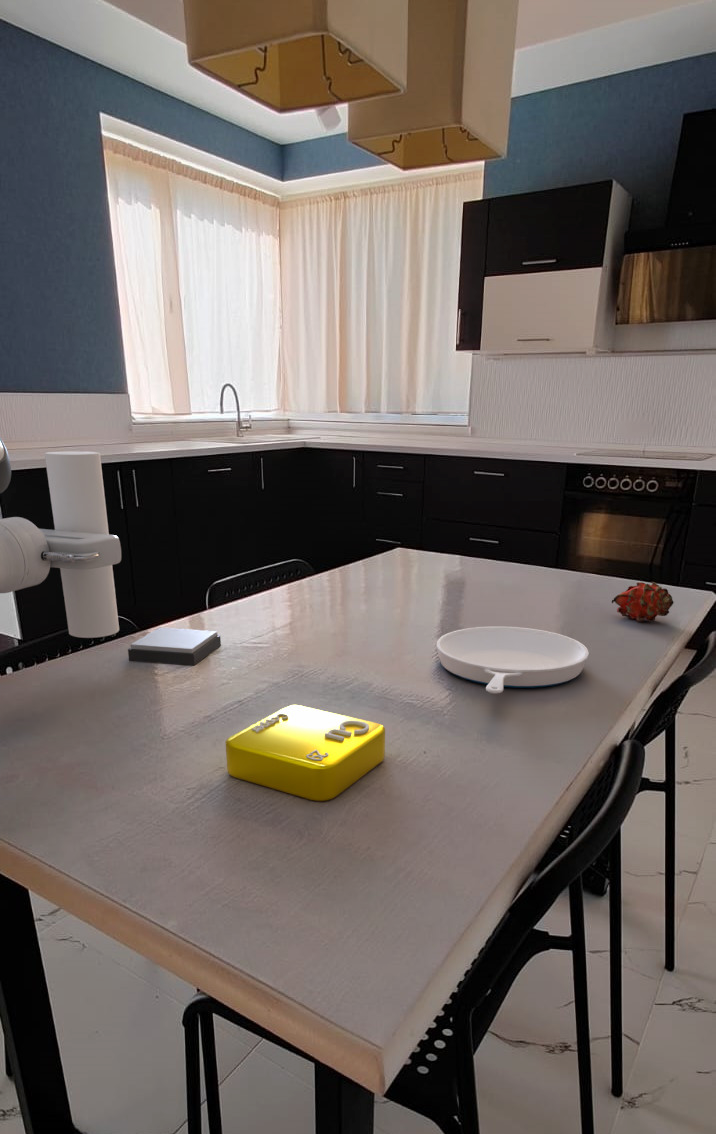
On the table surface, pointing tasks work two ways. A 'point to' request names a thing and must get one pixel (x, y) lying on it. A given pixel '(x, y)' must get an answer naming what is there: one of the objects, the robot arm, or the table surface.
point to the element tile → (306, 752)
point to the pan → (511, 657)
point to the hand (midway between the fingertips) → (86, 538)
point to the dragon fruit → (644, 602)
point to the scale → (174, 646)
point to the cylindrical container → (83, 511)
